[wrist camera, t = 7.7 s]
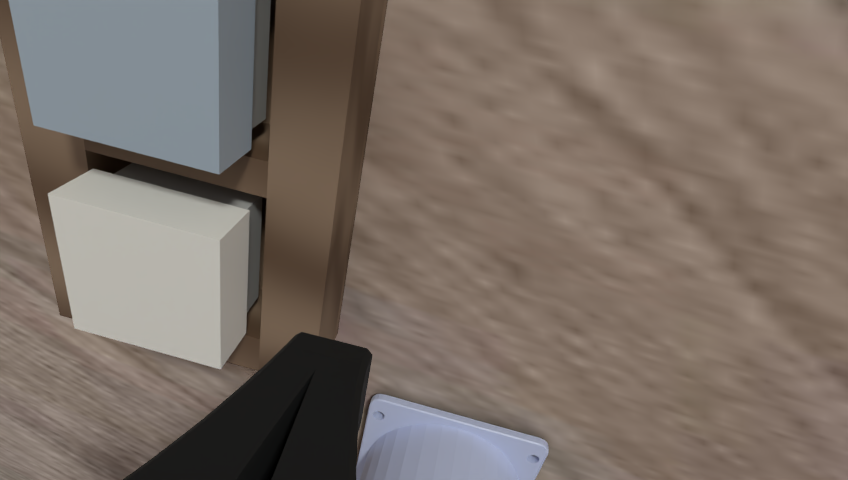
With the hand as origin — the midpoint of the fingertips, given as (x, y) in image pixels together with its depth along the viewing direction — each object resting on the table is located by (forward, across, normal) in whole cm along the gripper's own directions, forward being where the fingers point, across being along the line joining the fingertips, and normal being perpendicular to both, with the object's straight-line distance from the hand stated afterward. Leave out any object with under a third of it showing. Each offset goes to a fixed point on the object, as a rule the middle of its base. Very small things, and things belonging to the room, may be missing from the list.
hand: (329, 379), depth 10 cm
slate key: (+8, +7, -4) cm, 11 cm away
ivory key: (+8, +7, +3) cm, 11 cm away
